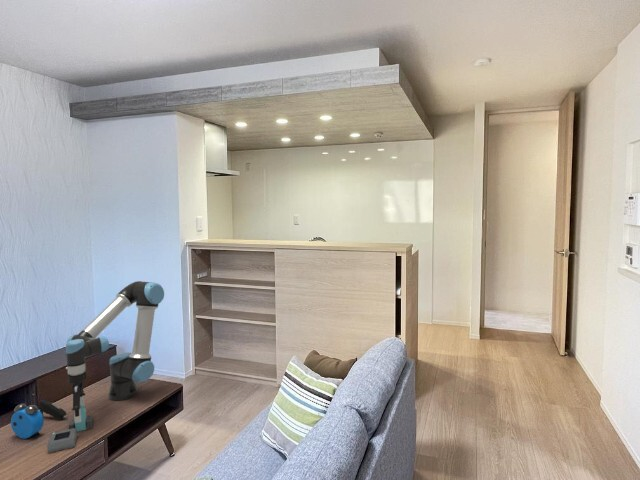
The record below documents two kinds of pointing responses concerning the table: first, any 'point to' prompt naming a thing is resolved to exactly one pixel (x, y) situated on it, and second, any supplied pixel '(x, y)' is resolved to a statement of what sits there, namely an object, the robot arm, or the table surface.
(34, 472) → the table surface
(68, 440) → the port panel
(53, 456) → the table surface
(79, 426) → the plug
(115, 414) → the table surface
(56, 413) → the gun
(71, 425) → the grey u-shaped bracket
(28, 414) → the alarm clock
